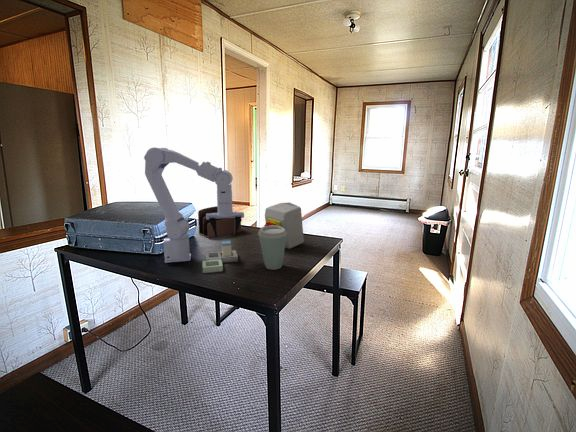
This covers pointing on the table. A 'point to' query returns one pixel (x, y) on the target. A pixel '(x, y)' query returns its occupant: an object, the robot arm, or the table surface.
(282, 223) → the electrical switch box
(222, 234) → the letter holder
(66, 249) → the table surface
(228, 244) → the plug
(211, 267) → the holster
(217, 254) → the panel
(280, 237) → the disposable coffee cup
